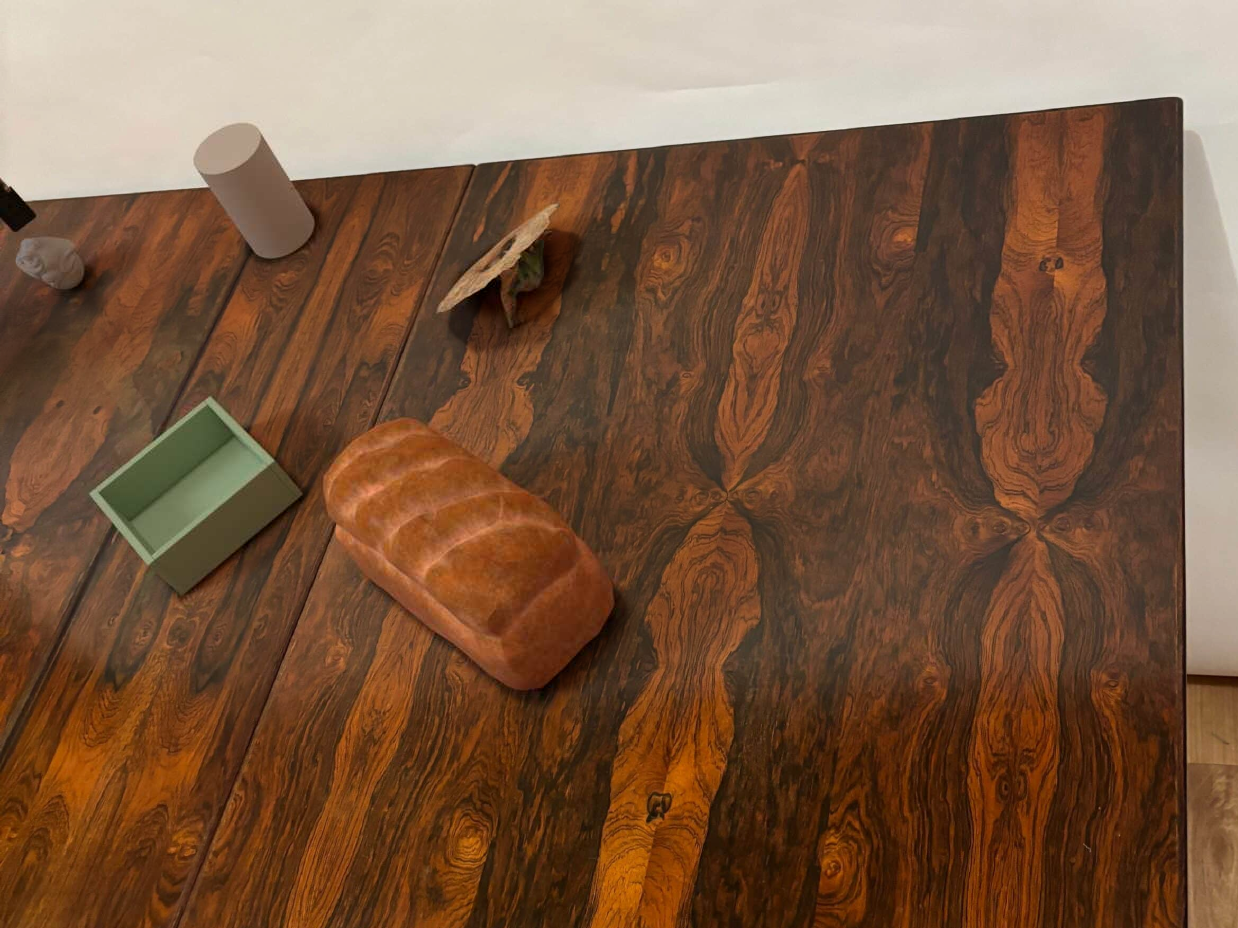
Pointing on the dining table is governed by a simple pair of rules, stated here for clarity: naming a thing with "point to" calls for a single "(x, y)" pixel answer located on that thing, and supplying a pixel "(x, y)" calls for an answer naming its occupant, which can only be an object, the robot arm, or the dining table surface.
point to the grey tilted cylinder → (254, 190)
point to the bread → (467, 551)
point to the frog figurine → (51, 261)
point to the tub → (195, 495)
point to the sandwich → (507, 266)
